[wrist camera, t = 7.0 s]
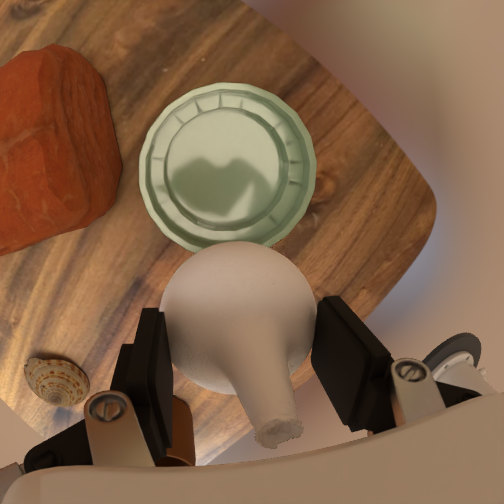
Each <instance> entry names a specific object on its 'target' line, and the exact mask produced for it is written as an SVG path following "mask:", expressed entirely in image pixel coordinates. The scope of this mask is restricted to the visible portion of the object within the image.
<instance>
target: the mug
mask: <svg viewBox="0 0 504 504" xmlns="http://www.w3.org/2000/svg"><path fill="white" fill-rule="evenodd" d="M172 434H173V446H172V448H167V457H162V458H161V459H159V460H158V461H157V462H155V463H154V464H155V466H156V467H185V466H195V462H196V457H195V445H194V433H193V421H192V414H191V411H190V409H189V408H188V407H187V405H186V404H185V403H183V402H182V401H181V400H179V399H177V398H174V397H173V430H172Z"/></svg>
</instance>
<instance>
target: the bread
mask: <svg viewBox="0 0 504 504" xmlns="http://www.w3.org/2000/svg"><path fill="white" fill-rule="evenodd" d="M122 166H123V165H122V161H121V157H120V153H119V149H118V145H117V141H116V136H115V132H114V127H113V123H112V118H111V113H110V108H109V103H108V98H107V93H106V88H105V85H104V83H103V81H102V79H101V76H100V74H99V73H98V72H97V71H96V70H95V69H94V68H93V67H92V66H91V65H90V63H89V62H88V61H87V60H86V59H85V58H84V57H83V56H82V55H81V54H80V53H78V52H76V51H74V50H72V49H71V48H67V47H64V46H60V45H55V44H51V45H49V46H47V47H44V48H42V49H40V50H35V51H23V52H21V53H20V54H18V55H17V56H16V57H14V58H13V59H12V60H10V61H9V62H8V63H7V64H5V65H4V66H2V67H0V256H2V255H5V254H9V253H12V252H15V251H19V250H22V249H24V248H27V247H29V246H32V245H34V244H36V243H39V242H41V241H43V240H45V239H47V238H50V237H52V236H55V235H59V234H63V233H66V232H70V231H73V230H77V229H81V228H84V227H87V226H88V225H89V224H90V223H91V222H92V221H93V220H94V219H97V218H99V217H101V216H103V215H104V214H105V213H106V212H107V211H108V210H109V208H110V207H111V206H112V205H113V204H114V201H115V196H116V191H117V186H118V182H119V178H120V174H121V170H122Z"/></svg>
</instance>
